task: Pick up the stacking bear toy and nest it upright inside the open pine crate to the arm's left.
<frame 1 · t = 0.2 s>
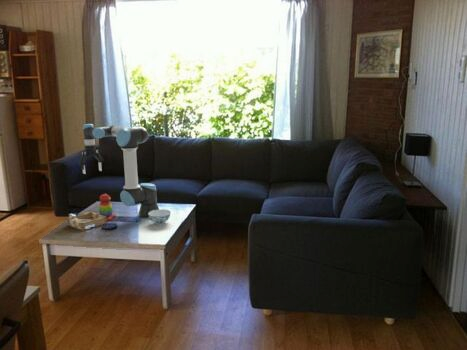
hand: (92, 172, 318), 28 cm above the table, fingers open, 13 cm apart
crate: (87, 224, 284), on the table
stacking bear: (106, 218, 297), on the table
chinaware: (160, 223, 285), on the table
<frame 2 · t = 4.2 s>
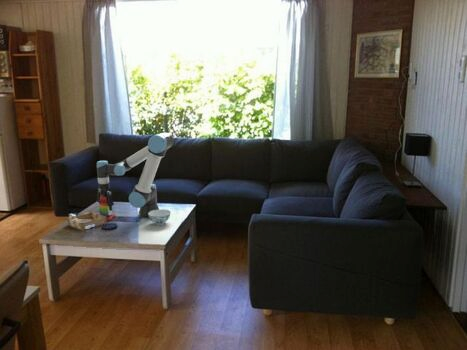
hand: (106, 213, 296), 4 cm above the table, fingers closed on stacking bear, 9 cm apart
stacking bear: (107, 218, 297), on the table, touching gripper
everything else where it was.
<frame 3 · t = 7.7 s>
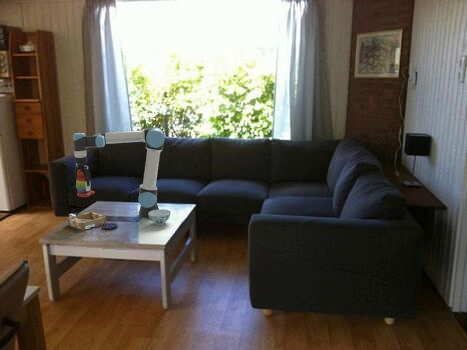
hand: (84, 189, 279), 25 cm above the table, fingers closed on stacking bear, 9 cm apart
stacking bear: (84, 195, 279), point 21 cm above the table, touching gripper
everything else where it was.
when the fingers open (7 cm above the table, at t = 11.3 s): stacking bear drops 2 cm, resting on crate.
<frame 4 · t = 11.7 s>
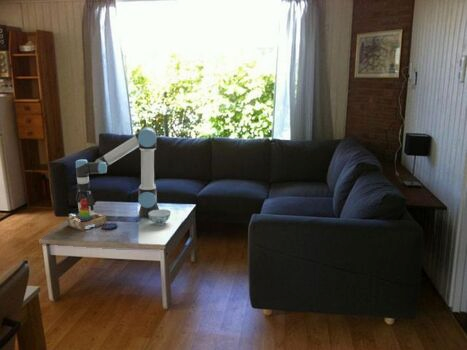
hand: (86, 213, 283), 8 cm above the table, fingers open, 13 cm apart
stacking bear: (87, 223, 284), point 1 cm above the table, touching crate
everything else where it was.
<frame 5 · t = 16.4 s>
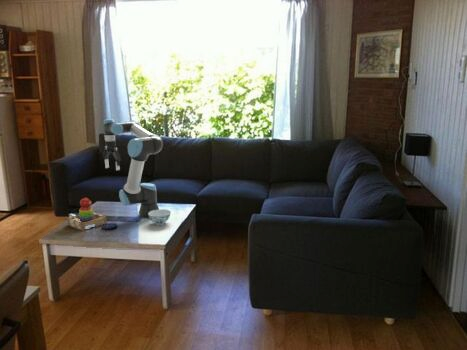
hand: (112, 168, 309), 32 cm above the table, fingers open, 13 cm apart
nothing on the table moved.
at the end: stacking bear inside the target area on the crate (0.4 cm from its centre), point 0.6 cm above the crate's base; stacking bear tilted 0°; the gripper is holding nothing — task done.
